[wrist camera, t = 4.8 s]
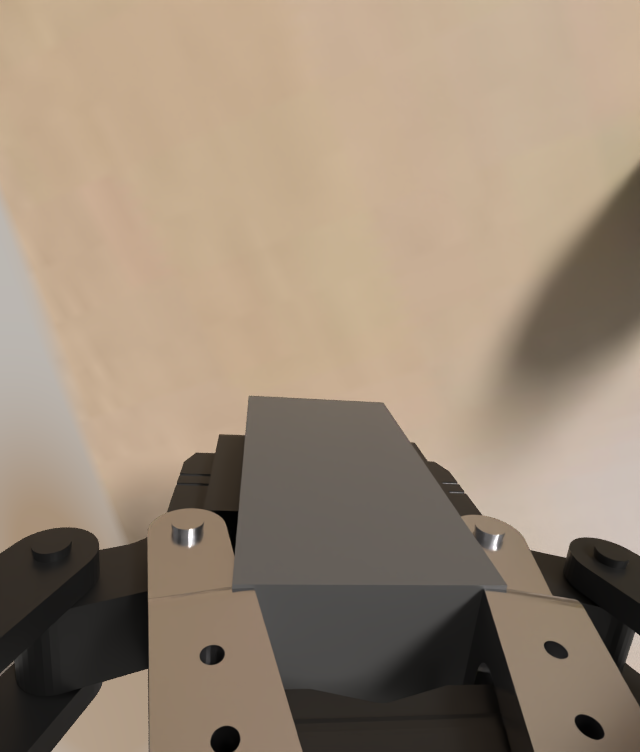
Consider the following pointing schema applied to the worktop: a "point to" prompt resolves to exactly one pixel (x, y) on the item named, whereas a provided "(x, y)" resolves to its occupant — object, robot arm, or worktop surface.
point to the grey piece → (354, 552)
